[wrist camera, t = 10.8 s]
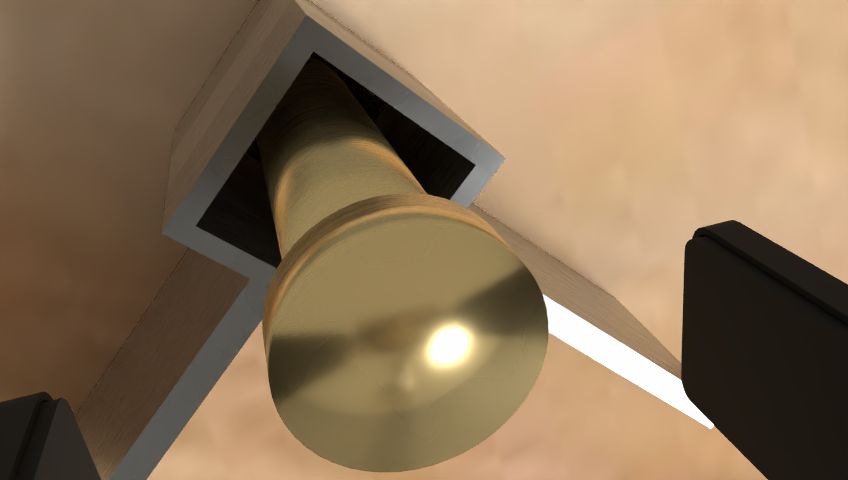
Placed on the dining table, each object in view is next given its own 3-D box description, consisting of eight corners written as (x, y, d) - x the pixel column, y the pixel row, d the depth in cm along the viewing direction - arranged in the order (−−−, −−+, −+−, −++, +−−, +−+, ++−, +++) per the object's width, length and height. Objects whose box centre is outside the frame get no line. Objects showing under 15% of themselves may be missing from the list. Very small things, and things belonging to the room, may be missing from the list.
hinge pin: (317, 190, 24) (438, 505, 11) (207, 124, 22) (209, 413, 10) (389, 88, 23) (600, 309, 11) (280, 11, 21) (384, 169, 9)
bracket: (395, 564, 32) (444, 737, 25) (-16, 424, 24) (-99, 624, 18) (656, 255, 28) (790, 364, 22) (275, -25, 21) (307, 14, 14)
